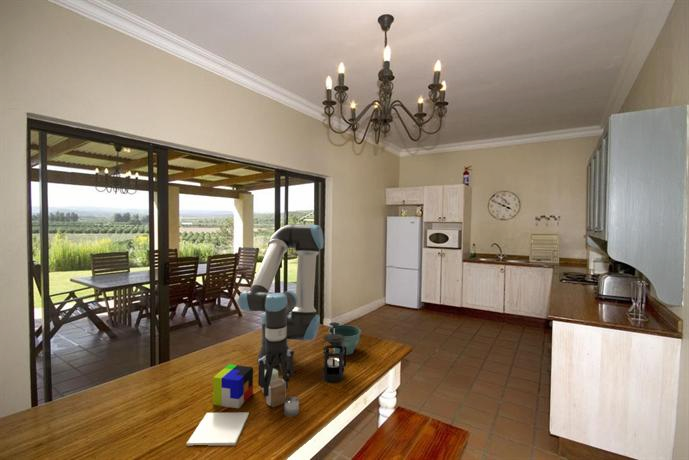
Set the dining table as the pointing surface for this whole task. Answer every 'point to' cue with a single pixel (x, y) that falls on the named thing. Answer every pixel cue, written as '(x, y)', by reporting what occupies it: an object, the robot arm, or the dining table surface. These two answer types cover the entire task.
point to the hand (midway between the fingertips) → (275, 400)
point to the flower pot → (347, 337)
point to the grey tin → (291, 406)
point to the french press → (334, 363)
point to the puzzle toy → (232, 386)
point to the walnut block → (277, 392)
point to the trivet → (219, 429)
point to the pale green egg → (274, 376)
